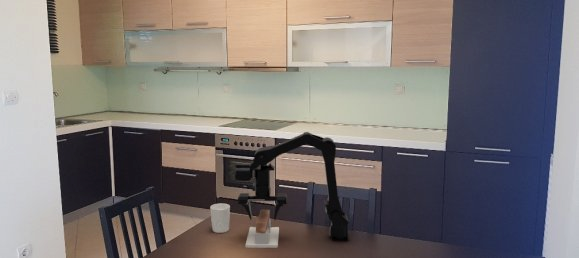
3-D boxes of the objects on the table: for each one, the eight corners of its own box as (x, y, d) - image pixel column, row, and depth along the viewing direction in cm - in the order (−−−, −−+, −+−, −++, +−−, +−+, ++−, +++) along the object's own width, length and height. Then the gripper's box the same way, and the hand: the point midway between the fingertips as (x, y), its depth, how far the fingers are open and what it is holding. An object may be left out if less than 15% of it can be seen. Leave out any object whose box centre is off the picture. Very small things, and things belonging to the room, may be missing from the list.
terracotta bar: (269, 219, 190) (269, 209, 189) (265, 233, 175) (265, 223, 174) (261, 219, 190) (261, 209, 189) (255, 233, 175) (255, 223, 174)
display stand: (279, 229, 192) (279, 217, 191) (277, 247, 174) (277, 234, 173) (250, 229, 192) (249, 217, 191) (245, 247, 174) (245, 234, 173)
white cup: (220, 235, 186) (220, 211, 185) (207, 230, 191) (206, 207, 189) (234, 229, 192) (233, 205, 191) (220, 224, 197) (220, 202, 196)
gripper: (287, 175, 187) (287, 212, 190) (240, 175, 187) (241, 212, 190) (286, 183, 176) (286, 222, 179) (237, 183, 176) (238, 222, 179)
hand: (262, 219), depth 182 cm, fingers open, 9 cm apart
